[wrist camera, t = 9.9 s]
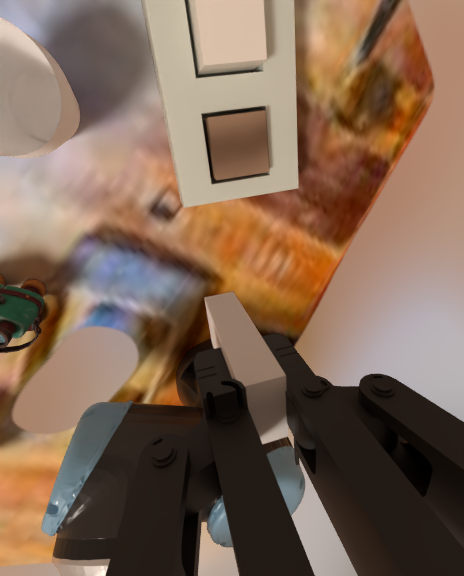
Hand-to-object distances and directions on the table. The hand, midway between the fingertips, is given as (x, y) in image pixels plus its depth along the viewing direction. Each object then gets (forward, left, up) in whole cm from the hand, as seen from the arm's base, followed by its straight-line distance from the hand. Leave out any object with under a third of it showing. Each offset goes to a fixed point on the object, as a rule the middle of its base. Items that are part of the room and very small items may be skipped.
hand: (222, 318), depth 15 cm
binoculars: (-8, +24, -27) cm, 37 cm away
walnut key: (+7, -7, -25) cm, 27 cm away
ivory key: (+17, -7, -24) cm, 30 cm away
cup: (+13, +12, -27) cm, 32 cm away
